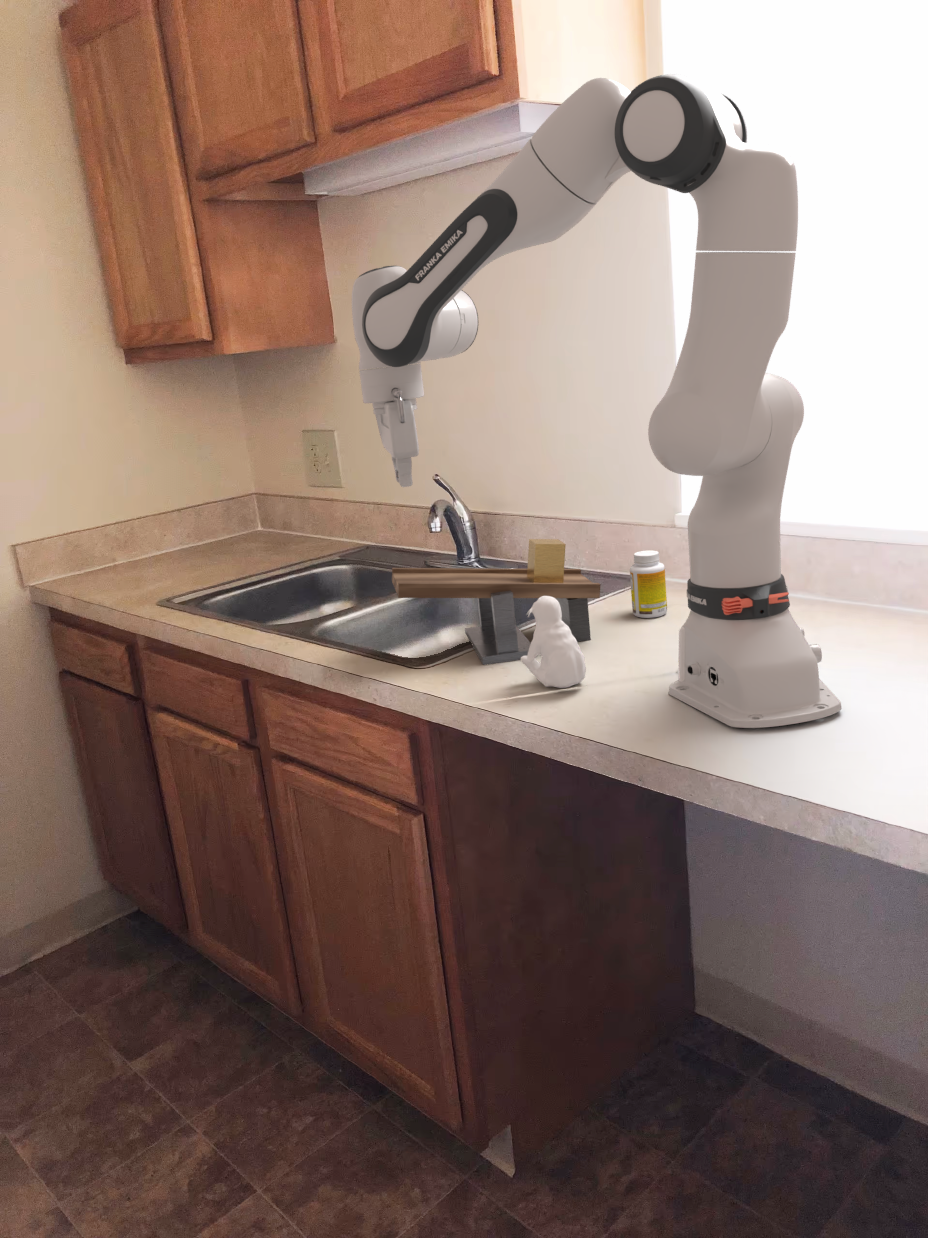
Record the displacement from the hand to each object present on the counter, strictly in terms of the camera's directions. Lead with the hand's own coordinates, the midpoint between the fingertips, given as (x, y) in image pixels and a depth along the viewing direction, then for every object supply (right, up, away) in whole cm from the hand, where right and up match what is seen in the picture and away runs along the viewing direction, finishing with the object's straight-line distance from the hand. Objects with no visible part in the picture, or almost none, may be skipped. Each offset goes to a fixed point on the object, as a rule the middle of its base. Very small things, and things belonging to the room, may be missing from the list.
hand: (404, 484), depth 147 cm
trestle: (+19, -23, +9) cm, 31 cm away
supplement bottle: (+39, -19, +16) cm, 46 cm away
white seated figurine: (+22, -29, -12) cm, 38 cm away
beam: (+13, -15, +6) cm, 21 cm away
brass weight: (+21, -14, +7) cm, 26 cm away
